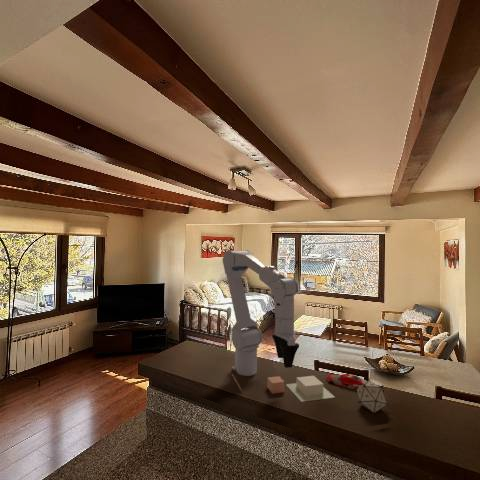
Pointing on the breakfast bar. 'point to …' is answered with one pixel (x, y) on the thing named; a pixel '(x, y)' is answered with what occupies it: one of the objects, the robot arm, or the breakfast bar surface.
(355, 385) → the race car
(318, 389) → the base brick
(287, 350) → the robot arm
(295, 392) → the build plate
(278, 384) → the top brick
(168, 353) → the breakfast bar surface
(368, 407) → the game die
